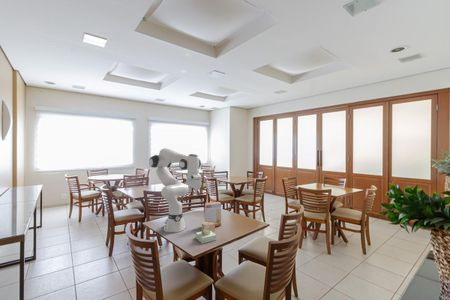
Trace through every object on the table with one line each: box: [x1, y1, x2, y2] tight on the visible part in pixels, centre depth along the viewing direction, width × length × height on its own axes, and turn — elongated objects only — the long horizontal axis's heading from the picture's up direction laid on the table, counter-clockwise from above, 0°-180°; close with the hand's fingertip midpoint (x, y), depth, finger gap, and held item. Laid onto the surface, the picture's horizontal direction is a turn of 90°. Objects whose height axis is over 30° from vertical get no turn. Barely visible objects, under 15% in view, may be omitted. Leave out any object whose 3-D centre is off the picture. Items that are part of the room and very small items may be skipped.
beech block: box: [201, 221, 210, 236], centre depth 168 cm, size 5×5×8 cm
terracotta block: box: [209, 222, 216, 233], centre depth 182 cm, size 5×5×7 cm
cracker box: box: [204, 201, 222, 227], centre depth 196 cm, size 14×6×21 cm, turn 110°
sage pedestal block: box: [195, 230, 217, 244], centre depth 168 cm, size 12×12×4 cm
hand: (192, 193), depth 167 cm, fingers open, 8 cm apart
